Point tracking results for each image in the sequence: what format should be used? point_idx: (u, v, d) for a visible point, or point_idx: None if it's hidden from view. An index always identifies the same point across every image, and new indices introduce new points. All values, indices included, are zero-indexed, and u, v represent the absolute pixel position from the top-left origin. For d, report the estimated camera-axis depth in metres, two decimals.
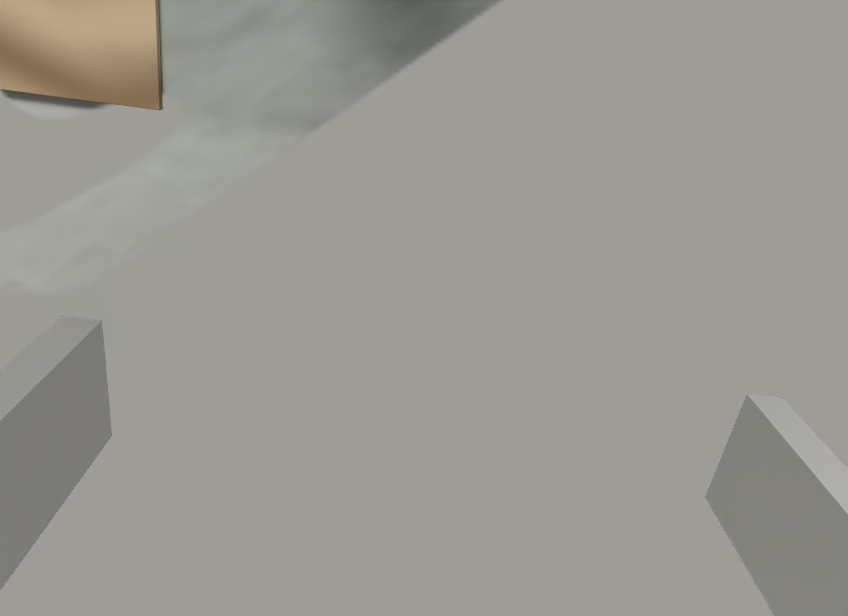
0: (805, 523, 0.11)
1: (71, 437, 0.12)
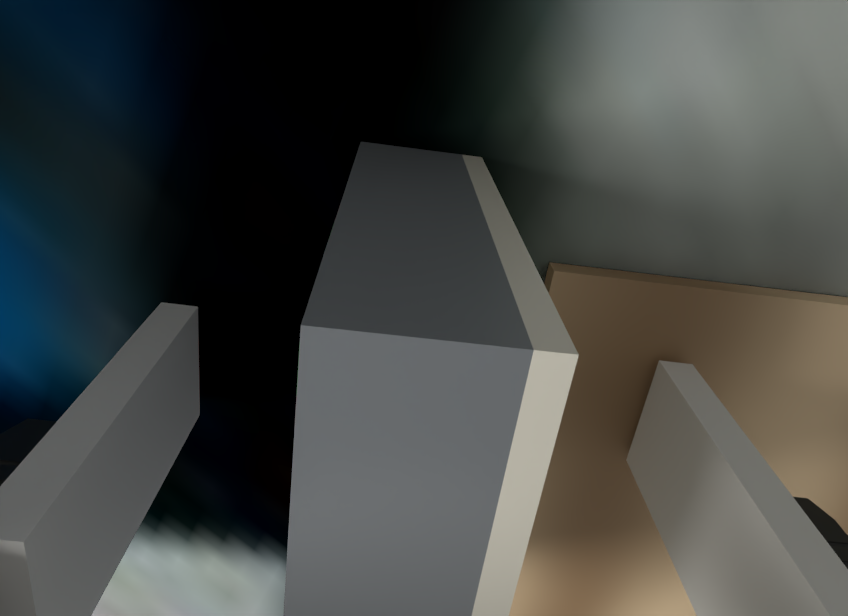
0: (697, 474, 0.12)
1: (175, 413, 0.13)
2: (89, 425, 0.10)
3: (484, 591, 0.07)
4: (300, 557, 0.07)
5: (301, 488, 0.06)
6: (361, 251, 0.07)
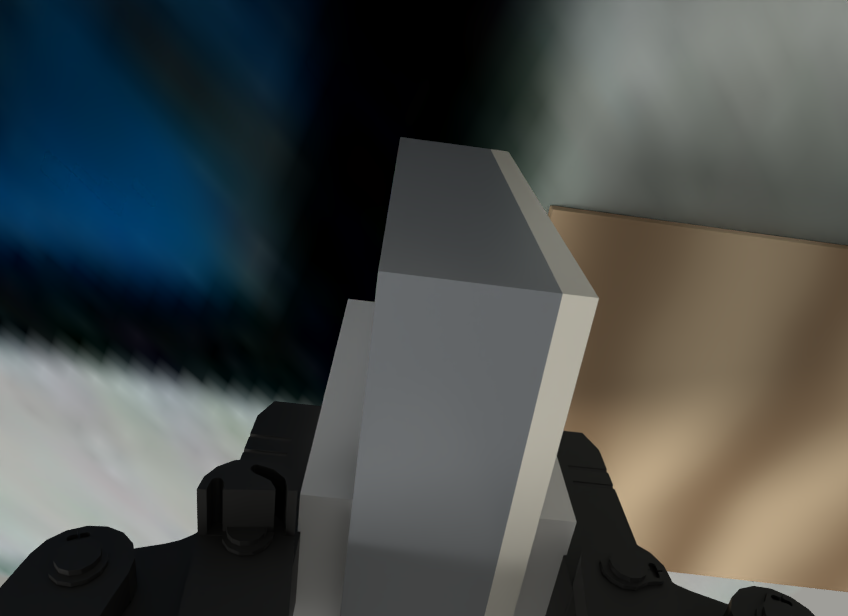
0: None
1: None
2: (350, 405, 0.11)
3: (518, 503, 0.08)
4: (367, 470, 0.08)
5: (371, 409, 0.08)
6: (415, 221, 0.09)
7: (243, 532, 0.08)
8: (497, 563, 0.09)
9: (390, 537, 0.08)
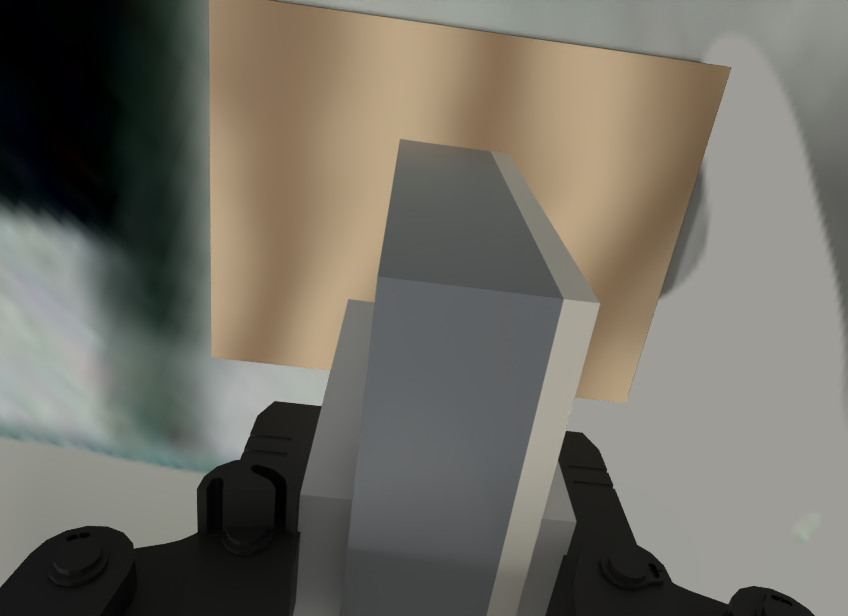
0: None
1: None
2: (350, 405, 0.11)
3: (518, 510, 0.08)
4: (366, 476, 0.08)
5: (370, 415, 0.08)
6: (416, 225, 0.09)
7: (243, 532, 0.08)
8: (497, 569, 0.09)
9: (389, 544, 0.08)
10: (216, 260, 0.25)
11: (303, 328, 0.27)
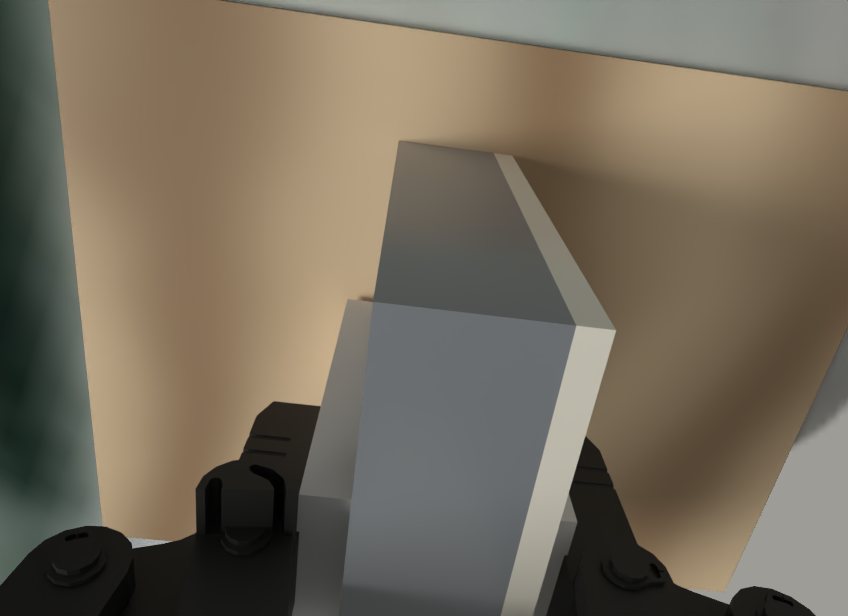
0: None
1: None
2: (349, 405, 0.11)
3: (526, 547, 0.08)
4: (362, 511, 0.07)
5: (366, 448, 0.07)
6: (415, 239, 0.08)
7: (241, 532, 0.08)
8: (503, 607, 0.08)
9: (387, 582, 0.08)
10: (99, 402, 0.16)
11: None
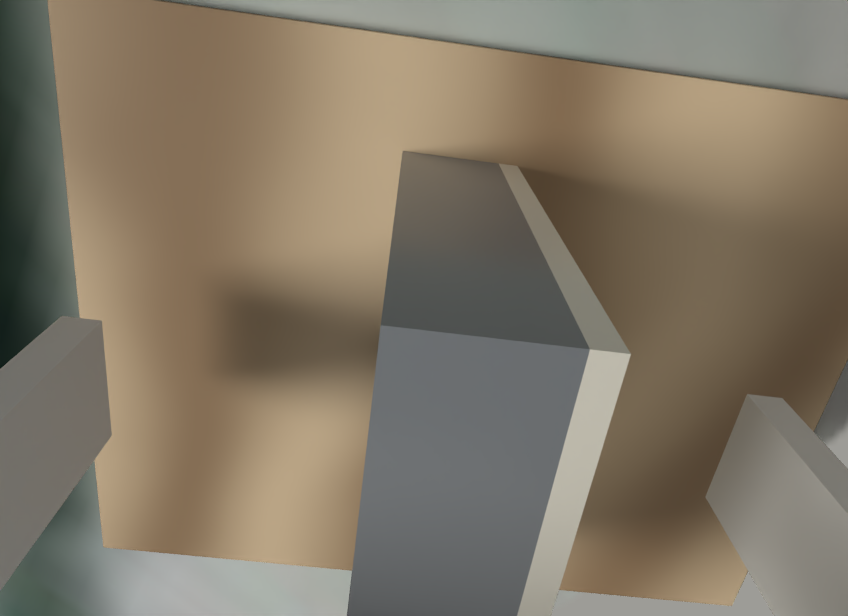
0: (805, 523, 0.11)
1: (71, 437, 0.12)
2: None
3: (536, 572, 0.07)
4: (368, 537, 0.07)
5: (373, 473, 0.07)
6: (422, 257, 0.08)
7: None
8: None
9: (394, 607, 0.08)
10: None
11: (242, 508, 0.17)
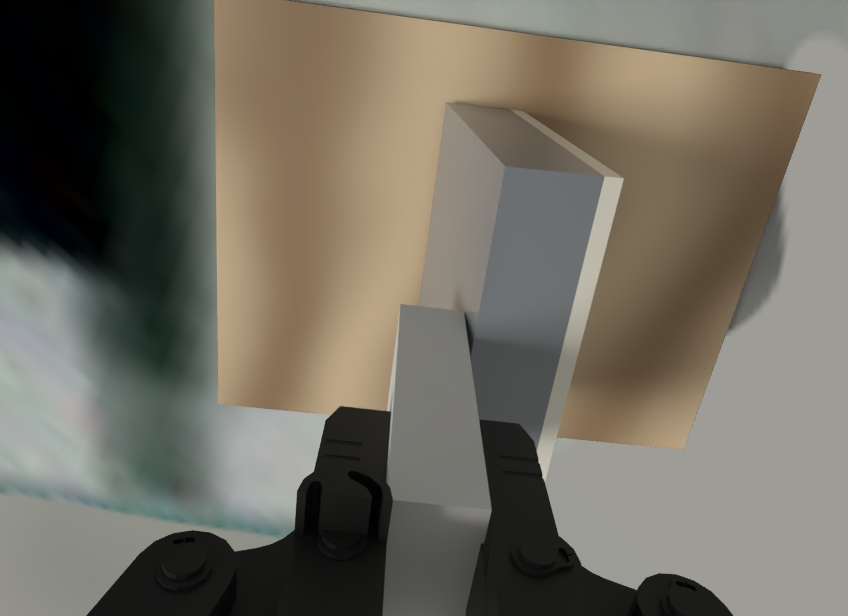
0: None
1: None
2: (421, 411, 0.11)
3: (574, 311, 0.14)
4: (488, 292, 0.13)
5: (494, 252, 0.13)
6: (502, 146, 0.14)
7: (338, 537, 0.08)
8: (561, 352, 0.14)
9: (498, 338, 0.14)
10: (224, 297, 0.22)
11: (322, 371, 0.24)
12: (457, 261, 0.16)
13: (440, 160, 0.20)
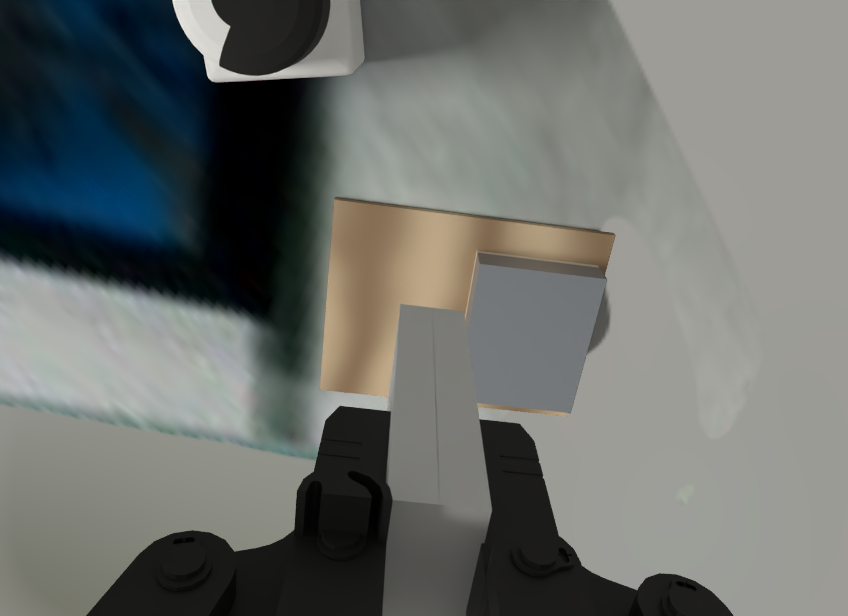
0: None
1: None
2: (420, 410, 0.11)
3: None
4: None
5: (599, 304, 0.41)
6: (575, 273, 0.40)
7: (338, 536, 0.08)
8: None
9: None
10: (327, 334, 0.44)
11: (375, 372, 0.46)
12: (551, 318, 0.41)
13: (482, 289, 0.40)
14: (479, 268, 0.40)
